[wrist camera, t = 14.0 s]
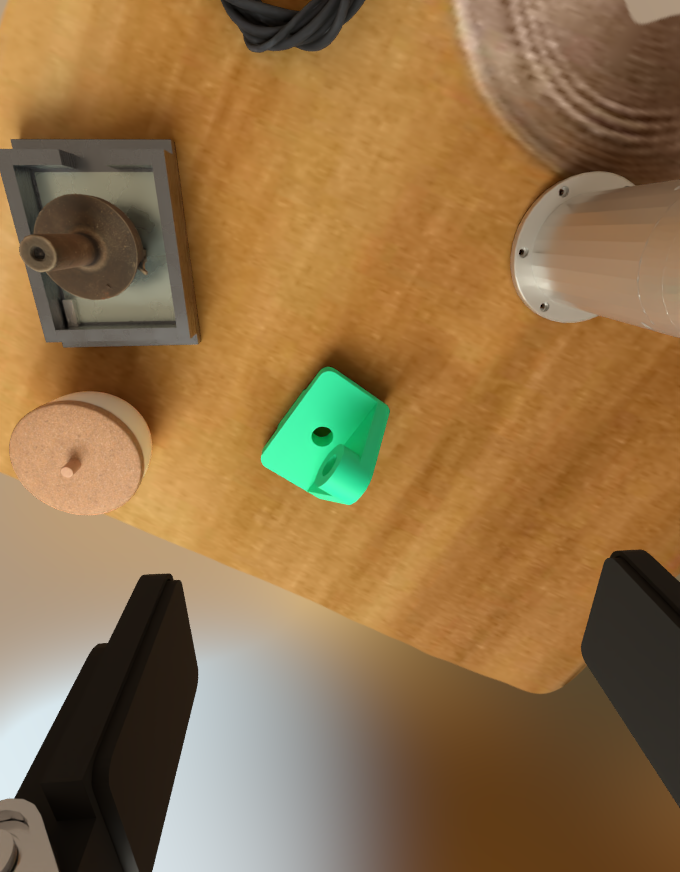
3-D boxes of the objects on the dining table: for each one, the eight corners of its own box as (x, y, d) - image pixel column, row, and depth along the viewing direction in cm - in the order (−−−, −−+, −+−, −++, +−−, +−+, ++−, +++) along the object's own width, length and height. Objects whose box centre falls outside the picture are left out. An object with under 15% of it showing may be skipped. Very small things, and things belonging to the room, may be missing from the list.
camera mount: (325, 359, 45) (330, 393, 36) (385, 401, 47) (405, 443, 38) (259, 450, 48) (247, 503, 39) (318, 485, 51) (320, 543, 41)
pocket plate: (174, 142, 37) (161, 133, 33) (201, 341, 43) (191, 350, 40) (19, 142, 36) (-11, 132, 33) (69, 344, 43) (49, 354, 39)
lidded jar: (182, 407, 46) (153, 447, 37) (144, 490, 49) (109, 544, 41) (73, 356, 43) (15, 387, 35) (41, 448, 47) (-19, 496, 38)
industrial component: (47, 246, 38) (-57, 252, 27) (95, 174, 36) (3, 148, 25) (145, 324, 41) (86, 357, 30) (194, 261, 39) (150, 271, 28)
